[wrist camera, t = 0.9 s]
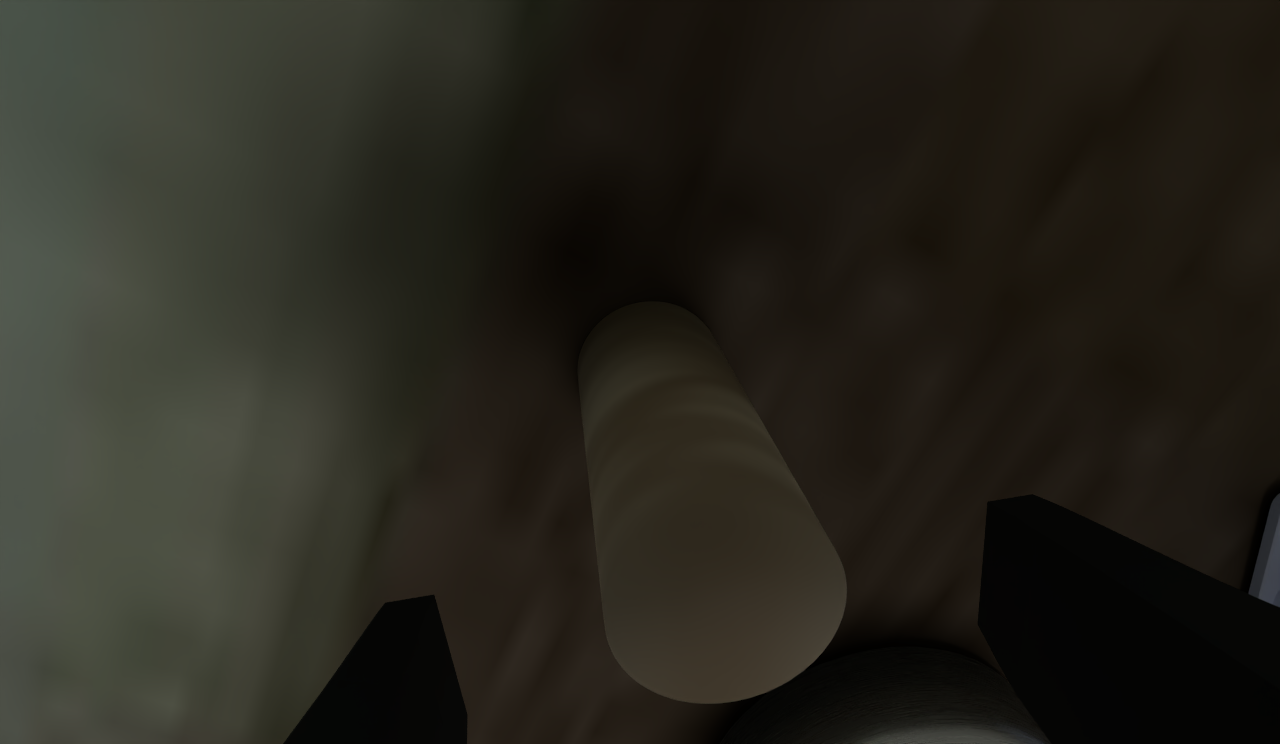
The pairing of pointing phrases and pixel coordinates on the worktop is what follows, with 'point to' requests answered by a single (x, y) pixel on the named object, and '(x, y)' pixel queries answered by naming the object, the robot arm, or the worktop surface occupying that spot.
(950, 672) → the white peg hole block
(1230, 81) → the worktop surface
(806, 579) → the key peg
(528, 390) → the worktop surface
